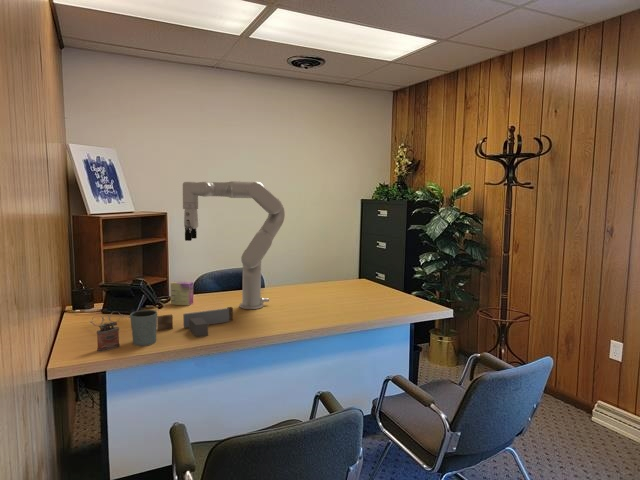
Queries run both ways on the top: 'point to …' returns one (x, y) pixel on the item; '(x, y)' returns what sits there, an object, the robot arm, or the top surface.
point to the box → (181, 293)
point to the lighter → (108, 337)
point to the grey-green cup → (144, 327)
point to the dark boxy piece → (198, 327)
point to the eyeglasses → (104, 319)
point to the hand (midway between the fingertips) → (190, 239)
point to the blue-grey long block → (208, 316)
